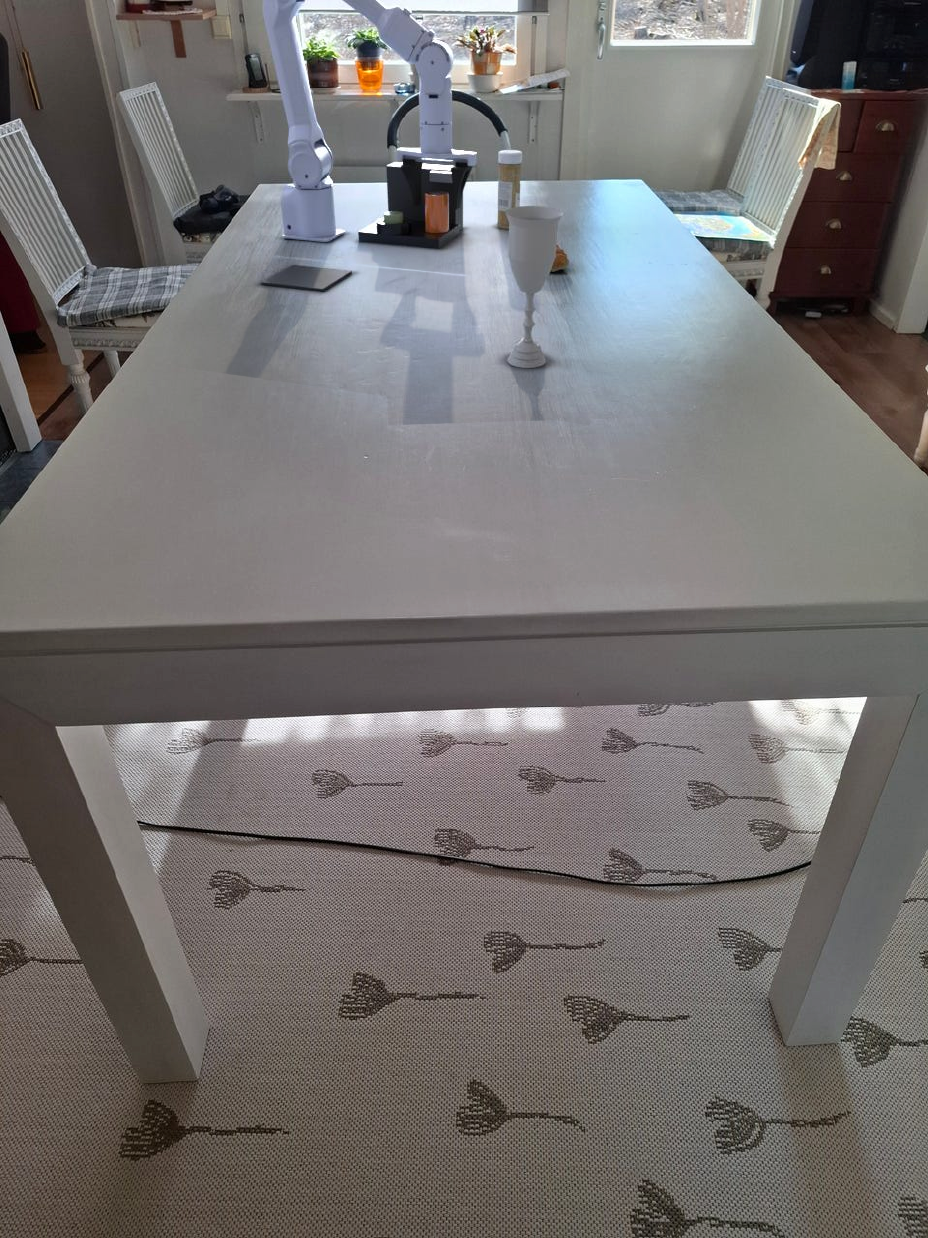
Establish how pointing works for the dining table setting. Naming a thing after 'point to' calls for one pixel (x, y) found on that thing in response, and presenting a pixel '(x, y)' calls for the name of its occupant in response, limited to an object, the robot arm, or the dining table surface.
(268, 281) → the mat
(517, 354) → the chalice
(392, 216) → the button
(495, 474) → the dining table surface
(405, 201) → the coffee maker column
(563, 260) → the pastry
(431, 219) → the espresso cup
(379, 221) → the coffee maker base
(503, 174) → the sprinkles bottle
